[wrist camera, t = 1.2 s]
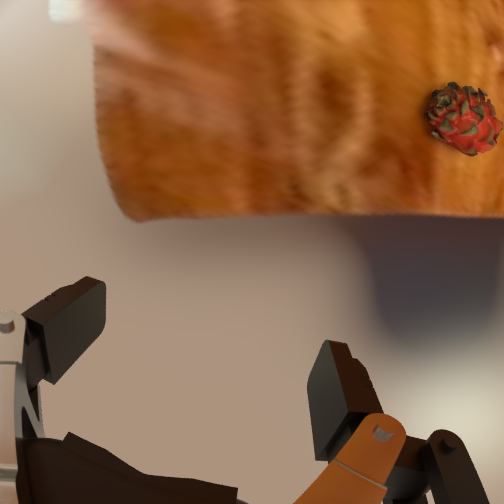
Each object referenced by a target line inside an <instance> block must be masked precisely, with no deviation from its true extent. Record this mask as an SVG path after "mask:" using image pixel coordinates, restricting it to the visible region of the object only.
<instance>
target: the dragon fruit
mask: <svg viewBox="0 0 504 504" xmlns="http://www.w3.org/2000/svg"><path fill="white" fill-rule="evenodd" d="M478 90H479V91H478V92H477V91H476V90H475V89H474V88H472V87H471V86H469V87H468V86H464V87H462V89H461V87H460V86H458V85H457V83H455V82H450V83H448V86H447V87H445V88H444V90H435V91H434V92H433V93H432V98H431V99H430V107H431V108H433V109H431V110H430V108H429V109H428V110H427V109H426V111H425V114H424V117H425V118H426V119H427V120H428V122H429V123H430V124H432V125H434V126H436V130H431V135H432V136H433V137H434V138H435V139H437V140H439V141H442V142H445V143H446V142H447V144H448V145H452V146H453V147H455V148H456V149H458V150H459V151H461V152H462V153H464V154H466V155H468V156H475V155H477V154H478V153H477V152H481V153H484V152H486V151H489V150H491V149H492V148H494V146H495V145H496V144H497V141H496V139H497V137H498V135H499V133H500V132H501V130H502V129H503V123H502V122H500V121H499V120H498V119H497V118H496V117H494V116H495V115H496V113H495V109H494V106H493V105H492V104H491V102H490V99H487V102H485V97H484V95H485V96H487V94H486V93H485V92H484V91H483V90H481V89H480V88H478Z"/></svg>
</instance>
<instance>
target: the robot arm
mask: <svg viewBox="0 0 504 504" xmlns="http://www.w3.org/2000/svg"><path fill="white" fill-rule="evenodd" d="M105 321H106V285H105V283H104V282H103V281H100V280H97V279H94V278H91V277H88V276H86V277H84V278H82V279H81V280H79V281H77V282H76V283H74V284H73V285H68V286H65V287H61V288H59V289H58V290H56V291H55V292H53V293H52V294H51V295H49V296H47V297H46V298H45V299H44V300H41V301H39V302H38V303H37V304H35V305H34V306H32V307H31V308H29V309H28V310H26V311H25V312H24V313H22V314H19V313H17V312H13V311H2V312H0V504H248V503H246V502H244V501H241V500H239V499H237V491H238V488H236V487H230V486H224V485H219V484H214V483H210V482H205V481H201V480H197V479H190V478H175V477H164V476H154V475H147V474H144V473H142V472H140V471H138V470H136V469H135V468H133V467H131V466H130V465H128V464H127V463H125V462H124V461H122V460H121V459H119V458H118V457H116V456H115V455H113V454H112V453H110V452H109V451H107V450H106V449H104V448H102V447H100V446H97V445H95V444H93V443H91V442H89V441H87V440H84V439H83V438H80V437H78V436H76V435H74V434H73V433H71V432H68V434H67V435H66V437H65V438H64V440H63V441H62V440H57V439H52V438H45V434H44V428H43V420H42V409H41V396H40V386H39V382H40V381H41V380H42V379H44V380H46V381H48V382H50V383H52V384H53V385H54V384H55V383H56V382H57V381H58V380H59V379H60V378H61V377H62V376H63V374H64V373H65V372H66V371H67V370H68V369H69V368H70V367H71V366H72V365H73V364H74V362H75V361H76V360H77V359H78V358H79V357H80V356H81V355H82V354H83V353H84V351H85V350H86V349H87V348H88V347H89V346H90V345H91V344H92V343H93V342H94V341H95V340H96V339H97V338H98V336H99V335H100V334H101V333H102V331H103V329H104V326H105ZM369 379H370V378H369V375H368V372H367V370H366V368H365V367H364V366H363V365H362V364H361V362H360V361H359V360H358V359H354V358H352V356H351V353H350V351H349V348H348V346H347V344H346V343H342V342H336V341H331V340H325V341H324V343H323V344H322V347H321V349H320V351H319V354H318V356H317V359H316V361H315V363H314V366H313V368H312V370H311V373H310V375H309V378H308V383H307V393H308V400H309V408H310V417H311V425H312V433H313V442H314V452H315V460H317V461H328V466H327V467H326V469H325V470H324V471H323V472H322V473H321V474H320V475H319V477H318V478H317V479H316V480H315V481H314V482H313V483H312V484H311V486H310V487H309V488H308V489H307V490H306V491H305V492H304V493H303V494H302V495H301V496H300V497H299V498H298V499H297V500H296V502H294V503H293V504H380V503H381V502H382V500H383V504H428V501H427V498H426V493H427V492H428V491H429V490H431V491H432V495H433V498H434V502H435V504H489V501H488V498H487V496H486V493H485V491H484V488H483V486H482V483H481V481H480V478H479V476H478V474H477V471H476V469H475V467H474V464H473V462H472V461H471V458H470V456H469V453H468V451H467V449H466V447H465V445H464V443H463V441H462V440H461V439H460V438H459V437H458V436H457V435H456V434H454V433H453V432H451V431H448V430H443V429H440V430H436V431H434V432H433V433H432V434H431V435H430V437H429V438H428V439H427V440H423V439H419V438H415V437H410V436H407V435H406V432H405V429H404V427H403V426H402V424H401V423H400V422H399V421H397V420H396V419H395V418H393V417H391V416H389V415H386V414H384V412H383V410H382V407H381V405H380V402H379V400H378V397H377V395H376V392H375V390H374V388H373V385H372V382H371V380H369Z"/></svg>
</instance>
